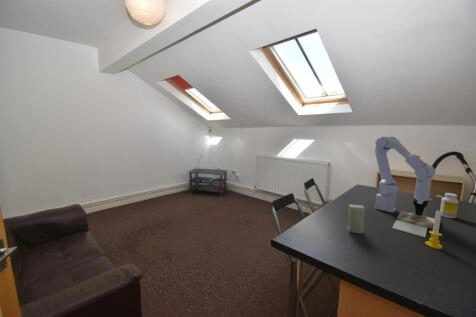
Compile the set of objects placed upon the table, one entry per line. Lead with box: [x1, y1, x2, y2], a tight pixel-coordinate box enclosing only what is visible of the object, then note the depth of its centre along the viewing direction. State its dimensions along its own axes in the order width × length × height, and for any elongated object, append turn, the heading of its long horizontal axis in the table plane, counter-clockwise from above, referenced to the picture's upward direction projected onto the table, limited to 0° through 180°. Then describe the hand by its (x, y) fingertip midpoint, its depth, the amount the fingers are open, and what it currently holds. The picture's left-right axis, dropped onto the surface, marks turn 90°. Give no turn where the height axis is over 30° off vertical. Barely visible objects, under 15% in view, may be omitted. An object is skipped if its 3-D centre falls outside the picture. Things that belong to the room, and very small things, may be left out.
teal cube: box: [413, 206, 427, 218], centre depth 108 cm, size 4×4×4 cm
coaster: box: [391, 219, 428, 239], centre depth 100 cm, size 12×12×1 cm
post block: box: [396, 210, 435, 230], centre depth 108 cm, size 16×14×5 cm
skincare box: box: [346, 203, 366, 234], centre depth 96 cm, size 6×4×12 cm
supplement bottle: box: [439, 192, 459, 219], centre depth 115 cm, size 7×7×13 cm
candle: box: [424, 210, 443, 250], centre depth 84 cm, size 5×5×16 cm
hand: (419, 213), depth 108 cm, fingers closed on teal cube, 4 cm apart
